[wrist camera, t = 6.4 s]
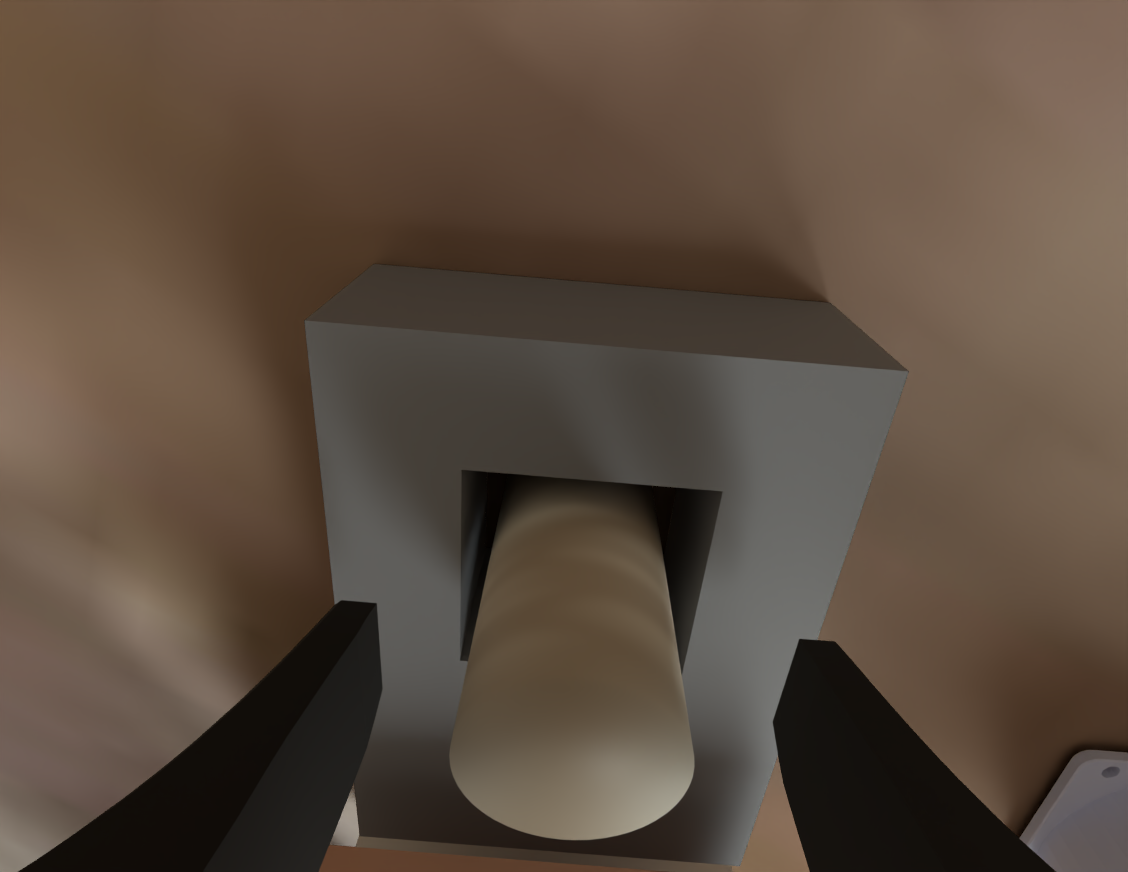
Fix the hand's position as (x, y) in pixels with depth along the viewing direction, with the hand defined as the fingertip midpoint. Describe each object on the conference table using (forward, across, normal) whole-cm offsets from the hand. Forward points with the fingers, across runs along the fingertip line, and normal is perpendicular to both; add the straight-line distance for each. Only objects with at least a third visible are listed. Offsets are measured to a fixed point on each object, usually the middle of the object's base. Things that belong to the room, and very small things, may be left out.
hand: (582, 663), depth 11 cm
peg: (+6, 0, 0) cm, 6 cm away
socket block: (+6, 0, +2) cm, 6 cm away
